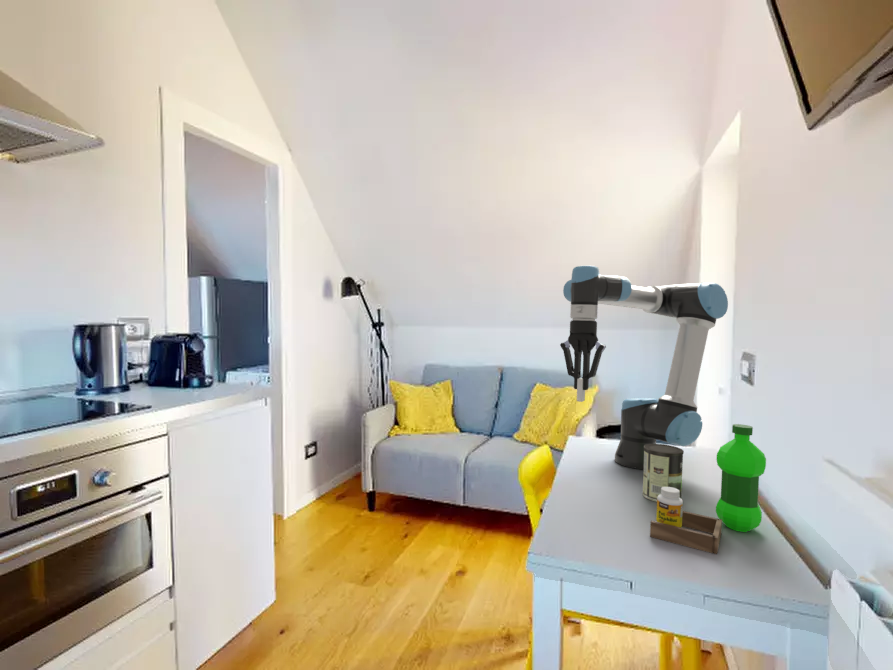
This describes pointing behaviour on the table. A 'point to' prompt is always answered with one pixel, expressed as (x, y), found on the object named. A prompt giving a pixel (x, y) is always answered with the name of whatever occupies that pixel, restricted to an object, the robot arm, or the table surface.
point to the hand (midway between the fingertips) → (580, 400)
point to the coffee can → (661, 469)
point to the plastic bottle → (740, 481)
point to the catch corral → (691, 532)
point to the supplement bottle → (669, 507)
